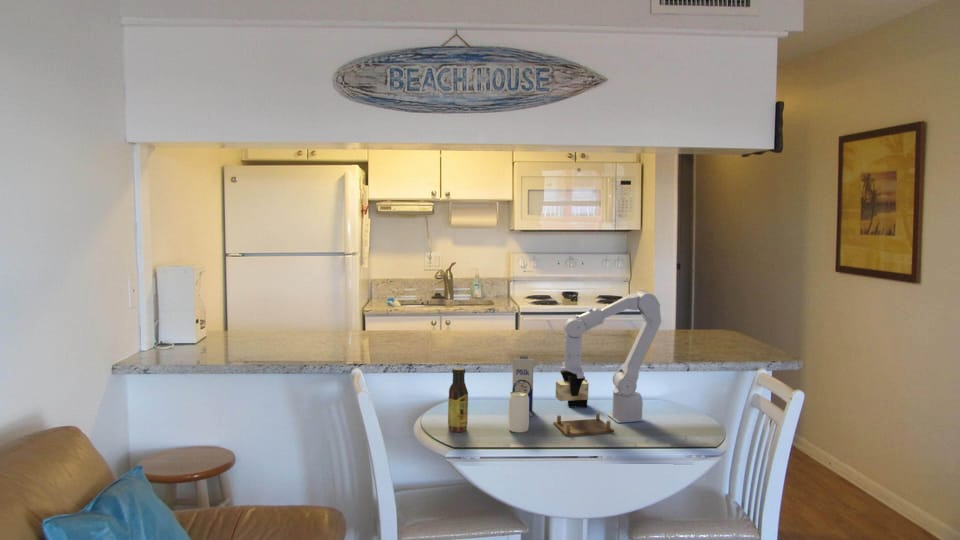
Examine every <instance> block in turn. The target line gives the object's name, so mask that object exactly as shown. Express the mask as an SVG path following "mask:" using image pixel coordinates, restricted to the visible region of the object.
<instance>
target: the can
mask: <svg viewBox="0 0 960 540" xmlns="http://www.w3.org/2000/svg"><path fill="white" fill-rule="evenodd" d="M529 419H530V417H529V397H528V393H527V392H525V391H511V392H510V395H509V397H508V423H507V425H508V428H507V429H508V430H509V432H512V433H514V432H515V434H521V433H522V434H523V433H526V432H528V431H529V428H530V427H529V424H530V423H529V421H530V420H529Z"/></svg>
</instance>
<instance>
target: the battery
mask: <svg viewBox="0 0 960 540" xmlns="http://www.w3.org/2000/svg"><path fill="white" fill-rule="evenodd" d="M584 381H586V382H587V383H588V380H587V379H586V378H585V379H584ZM567 406H568V407H570V408H588V399H586V400H571V401H567Z"/></svg>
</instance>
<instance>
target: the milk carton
mask: <svg viewBox="0 0 960 540" xmlns="http://www.w3.org/2000/svg"><path fill="white" fill-rule="evenodd" d="M534 365H535V359H531V358H530V359H529V358H528V356H527V355H526V356H525V355H520V356H519V358H512V389H511V390H512V391H525V392H527V393H528V397H529V416H530V417H531V418H532V417H533V408H534V407H533V401H534V400H533V399H534V397H533V396H534ZM512 391H511V392H512ZM530 417H529V418H530Z"/></svg>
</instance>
